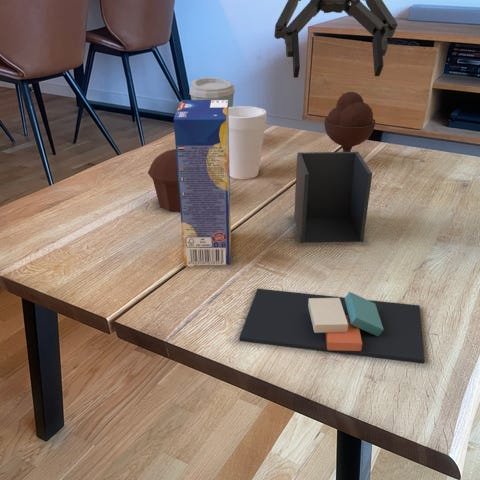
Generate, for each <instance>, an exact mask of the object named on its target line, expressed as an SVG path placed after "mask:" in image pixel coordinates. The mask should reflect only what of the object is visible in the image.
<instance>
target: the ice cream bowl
mask: <svg viewBox="0 0 480 480" xmlns="http://www.w3.org/2000/svg"><path fill="white" fill-rule="evenodd" d="M323 123H324V130H325V133H326V135H327V136H328V137H329V139H330V140H331V141H332V142H334V144H336V145H339V146H341V148H342V152H352V151H351V150H352V148H353V147H356V146H359V145H361V144H362V143H365V141H367V140H368V139H369V138H370V137H371V136H372V134H373V133H374V130H375V126H376V119H375V118H374V112H373V109H372V107H371V105H369V104H368V103H365V102H364V98H363V97H362V96H361V94H360V93H358V92H355V91H347V92H344V93H343V94H342V95H341V96H339V98H338V99H337V101H336V104H335V107H334V108H332V109H331V110H330V111H329V113H328V115H327V117H325V118H324V122H323Z"/></svg>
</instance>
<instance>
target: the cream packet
mask: <svg viewBox="0 0 480 480" xmlns="http://www.w3.org/2000/svg"><path fill="white" fill-rule="evenodd" d="M308 308H309V312H310V316H311V320H312V325H313V329H314V333H323V332H347V330H348V322H347V319H346V316H345V313H344V310H343V307H342V304H341V301H340V298H309V300H308Z"/></svg>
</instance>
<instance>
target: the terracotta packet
mask: <svg viewBox="0 0 480 480" xmlns="http://www.w3.org/2000/svg"><path fill="white" fill-rule="evenodd" d="M345 316H346V319H347V322H348V330H347V332H325V335H326V343H327V350H340V351H361V349H362V339H361V335H360V330H359V328H358V327H355V326H353V325H351V323H350V319H349V315H345Z"/></svg>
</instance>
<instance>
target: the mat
mask: <svg viewBox="0 0 480 480" xmlns="http://www.w3.org/2000/svg"><path fill="white" fill-rule="evenodd" d="M309 298H340V301H341V304H342V307H343V310H344V313H345V315H348V311H347V307H346V303H345V297H343V296H335V295H334V296H332V295H322V294H316V293H315V294H313V293H303V292H295V291H286V290H285V291H284V290H276V289H275V290H274V289H265V288H257V289H256V292H255V293H254V297H253V300H252V302H251V305H250V308H249V311H248V313H247V316H246V319H245V322H244V324H243V327H242V330H241V332H240V335H239V339H238V340H239V342H244V343H252V344H260V345H269V346H275V347H285V348H294V349H302V350H308V351H309V350H310V351H316V352H317V351H318V352H325V353H334V354H342V355H349V356H358V357H367V358H374V359H375V358H376V359H384V360H389V361H399V362H407V363H417V364H425V362H426V361H425V359H426V358H425V350H424V349H425V348H424V339H423V329H422V318H421V308H420V307H421V306H420V305H419V304H411V303H400V302H391V301H381V300H371V299H368V300H369V301H371V302H373V303H375V305H376V308H377V311H378V314H379V317H380V320H381V323H382V326H383V329H384V330H383V332H382V333H381V334H380V335H379V336H376V335H373V334H371V333H369V332H367V331H364V330H362V329H360V328H359V330H360V335H361V339H362V349H361V351H340V350H327V343H326V335H325V332H323V333H314V329H313V325H312V320H311V316H310V312H309V308H308V300H309Z"/></svg>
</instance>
